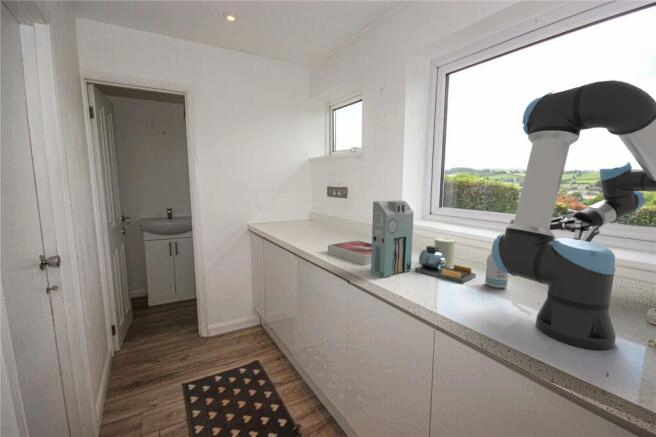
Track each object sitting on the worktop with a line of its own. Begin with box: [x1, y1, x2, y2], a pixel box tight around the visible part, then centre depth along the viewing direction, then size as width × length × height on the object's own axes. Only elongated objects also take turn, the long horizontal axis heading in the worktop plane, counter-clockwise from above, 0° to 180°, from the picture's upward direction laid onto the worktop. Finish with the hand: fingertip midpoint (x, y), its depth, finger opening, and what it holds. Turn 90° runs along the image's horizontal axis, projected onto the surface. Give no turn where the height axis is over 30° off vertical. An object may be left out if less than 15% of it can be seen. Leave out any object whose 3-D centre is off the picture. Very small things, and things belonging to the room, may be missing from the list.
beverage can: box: [484, 252, 509, 290], centre depth 105 cm, size 7×7×12 cm
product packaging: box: [327, 239, 372, 266], centre depth 148 cm, size 22×28×5 cm
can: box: [434, 237, 456, 267], centre depth 134 cm, size 9×9×12 cm
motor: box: [414, 245, 477, 285], centre depth 118 cm, size 12×20×10 cm, turn 41°
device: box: [370, 199, 415, 279], centre depth 119 cm, size 16×8×30 cm, turn 126°
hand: (537, 243), depth 101 cm, fingers open, 13 cm apart
